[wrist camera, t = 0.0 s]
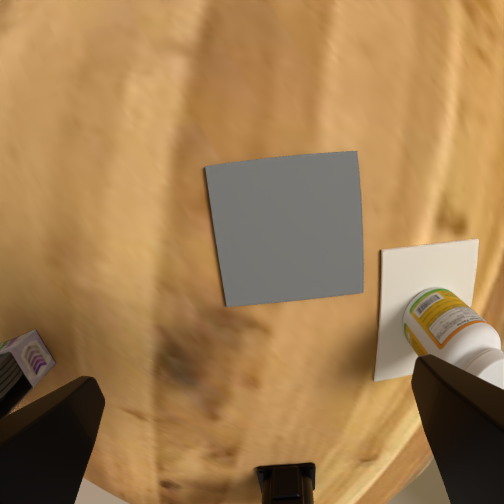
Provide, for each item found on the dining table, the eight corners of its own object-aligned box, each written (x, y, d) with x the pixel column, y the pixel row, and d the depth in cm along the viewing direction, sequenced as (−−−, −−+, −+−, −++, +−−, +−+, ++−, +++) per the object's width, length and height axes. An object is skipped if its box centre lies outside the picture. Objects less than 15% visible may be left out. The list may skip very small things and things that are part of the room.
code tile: (457, 360, 24) (458, 362, 23) (373, 380, 24) (374, 382, 24) (476, 238, 20) (479, 239, 20) (381, 249, 21) (382, 250, 21)
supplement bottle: (440, 345, 23) (493, 416, 14) (391, 340, 23) (437, 423, 14) (464, 289, 21) (533, 349, 12) (414, 280, 21) (483, 347, 12)
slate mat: (362, 290, 22) (363, 292, 22) (227, 304, 23) (226, 306, 23) (355, 151, 19) (357, 151, 19) (206, 166, 20) (205, 166, 20)
